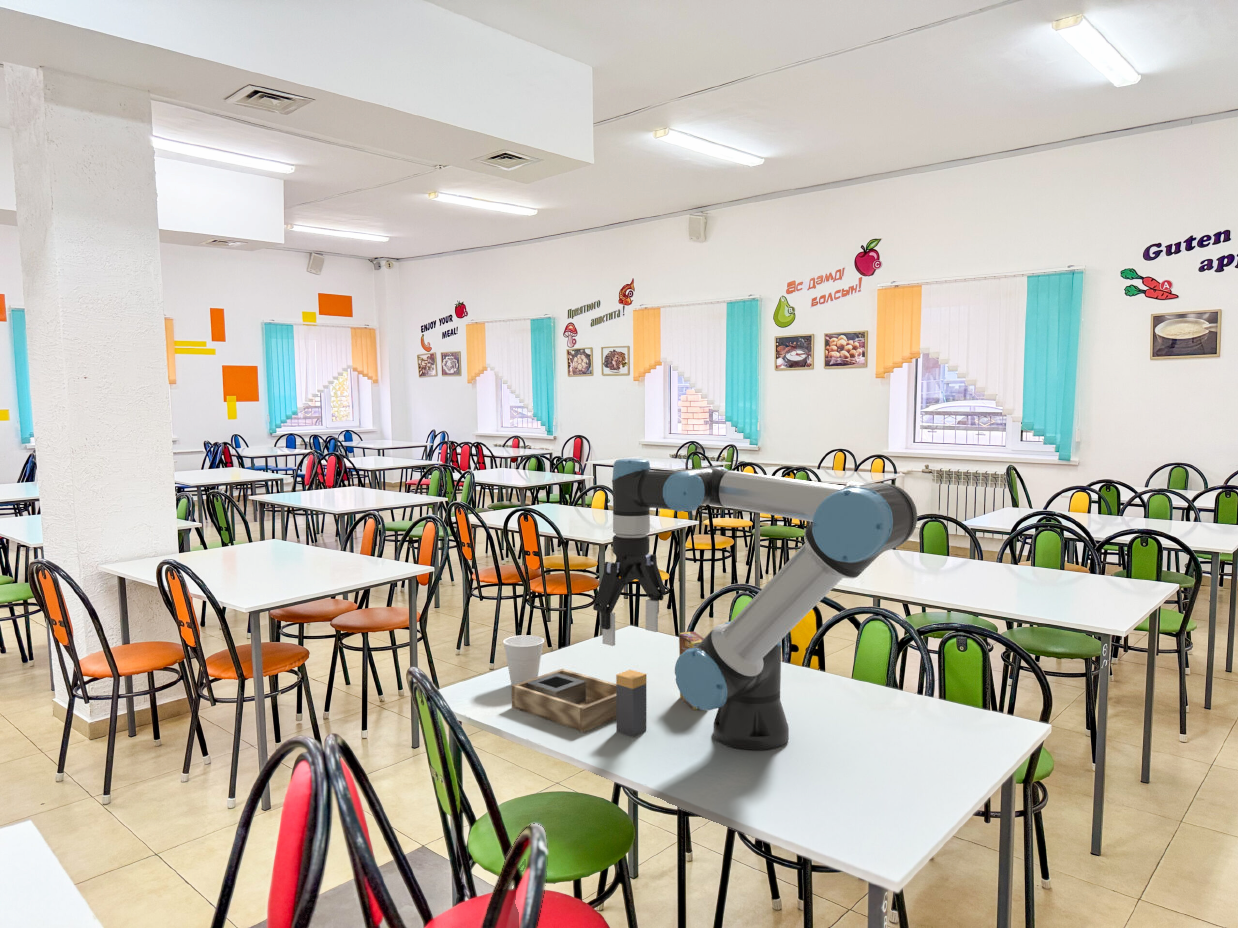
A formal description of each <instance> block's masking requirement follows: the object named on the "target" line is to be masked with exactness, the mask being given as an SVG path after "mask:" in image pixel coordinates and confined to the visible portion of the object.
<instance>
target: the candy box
mask: <svg viewBox="0 0 1238 928" xmlns="http://www.w3.org/2000/svg"><path fill="white" fill-rule="evenodd" d="M704 638H705V637H703V636H701V635H699V633H697V632H695V631H685V632H679V633H678V646H679V647H678V649H679V652H678V653H679V654H678V655H679V656H680V655H681V654H682V653H683V652H685V651H686V650H688V649H689V648H694V647H696V646H697V645H698V644H699V643H700V642H701V641H702V640H703V639H704ZM679 656H678V657H679ZM679 697H680V698H681V699H682V700H683V701H684V702H685V703H687V705H688V706H689V707H691V708H692V710H694V711H697V710H698V711H699V710H700V709H698V708H695V707H694V706H692V705H691V704H690V703H688V702H687V701H686V700H685V698H684V697H683V696H682V694H681V693H680V692H679Z"/></svg>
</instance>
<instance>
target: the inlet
mask: <svg viewBox="0 0 1238 928" xmlns="http://www.w3.org/2000/svg"><path fill="white" fill-rule="evenodd" d="M527 689H531V690H534V691H537V692H540V693H543V694H546V695H549V696H553V697H556V698H559V699H562V700H565V701H568V702H571V703H575V704H579V703H582V702H584V701H586V681H583V680H579V679H576V678H573V677H569V676H566V675H562V674H559V673H554V674H551V675H548V676H545V677H542V678H539V679H536V680H533V681H530V682H527Z"/></svg>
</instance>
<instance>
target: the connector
mask: <svg viewBox="0 0 1238 928" xmlns="http://www.w3.org/2000/svg"><path fill="white" fill-rule="evenodd" d="M615 676H616V677H615V678H616V679H615V684H616V719H615V721H616V723H615V725H616V732H617V733H619V734H622V735H626V736H629V737H632V738H634V737H636V736H638V735H641V734H643V733H644V732H647V673H644V672H640V671H637V670H633V669H628V670H625V671H622V672H620V673H618V674H616V675H615Z"/></svg>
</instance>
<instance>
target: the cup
mask: <svg viewBox="0 0 1238 928" xmlns="http://www.w3.org/2000/svg"><path fill="white" fill-rule="evenodd" d="M544 643H545V638H543V637H541V636H538V635H533V634H532V635H527V634H524V635H523V634H521V635H514V636H510V637H506V638H505V639H503V641H502V644H503V645H504V652H505V658H506V661H507V666H508V667H507V668H508V674H509V680H510V685H511V686H512V685H515V684H518V683H521V682H524V681H527V680H530V679H533V678H536V677H539V673H540V664H541V659H542V654H543V646H544Z"/></svg>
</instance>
